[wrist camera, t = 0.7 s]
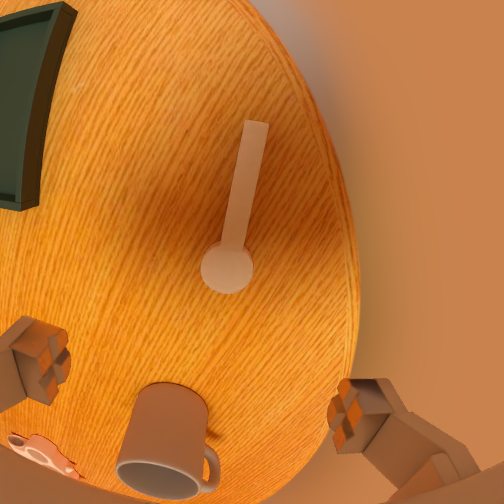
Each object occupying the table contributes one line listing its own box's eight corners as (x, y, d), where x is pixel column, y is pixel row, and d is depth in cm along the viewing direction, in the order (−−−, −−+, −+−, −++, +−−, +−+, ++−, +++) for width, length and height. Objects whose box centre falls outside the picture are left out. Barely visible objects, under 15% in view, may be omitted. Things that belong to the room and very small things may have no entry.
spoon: (228, 119, 23) (227, 115, 21) (282, 130, 23) (287, 127, 21) (198, 282, 27) (195, 294, 25) (247, 291, 28) (248, 303, 25)
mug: (124, 401, 32) (99, 471, 21) (166, 369, 30) (144, 450, 20) (197, 448, 35) (191, 515, 24) (244, 423, 33) (247, 499, 23)
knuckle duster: (4, 420, 34) (67, 444, 35) (38, 471, 40) (96, 491, 41) (-4, 431, 31) (60, 459, 32) (33, 482, 36) (92, 504, 37)
